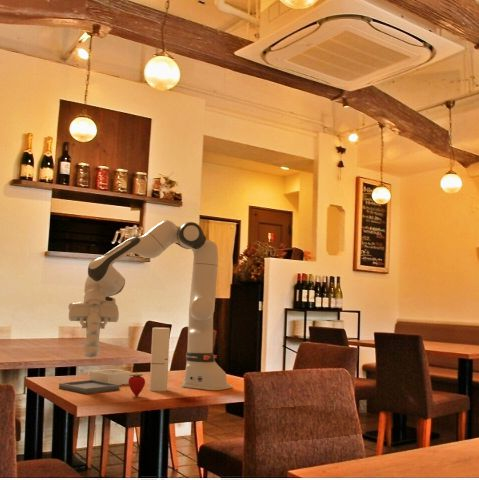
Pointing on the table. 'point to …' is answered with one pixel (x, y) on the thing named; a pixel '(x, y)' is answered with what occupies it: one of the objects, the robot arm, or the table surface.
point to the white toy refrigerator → (159, 359)
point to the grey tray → (89, 386)
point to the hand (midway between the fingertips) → (93, 327)
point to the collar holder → (111, 376)
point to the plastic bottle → (92, 333)
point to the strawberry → (136, 383)
